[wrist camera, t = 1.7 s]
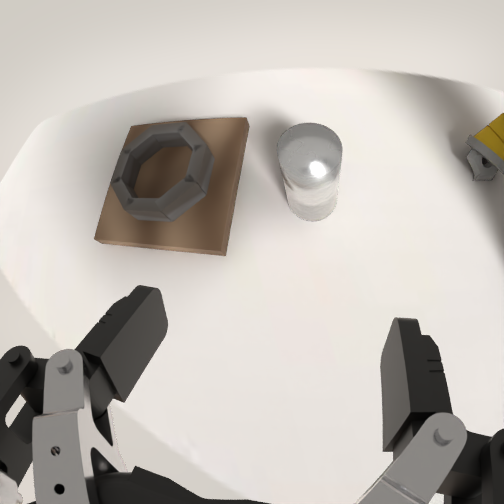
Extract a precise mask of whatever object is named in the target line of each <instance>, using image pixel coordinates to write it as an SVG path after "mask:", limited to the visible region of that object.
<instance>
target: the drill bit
mask: <svg viewBox="0 0 504 504" xmlns="http://www.w3.org/2000/svg"><path fill="white" fill-rule="evenodd" d="M489 125H490V126H488V125H487V126H486V127H485V128H484V129H482V130H481V131H480V132H479V133H477V134H476V135H475V136H474V137H473V136H471V135H470V136H469V137H468V139H467V141H466V143H467V144H468V145H469V146H470V147H472V149H471V151H470V152H469V154H468V156H467V159H468V161H469V164H470V166H471V168H472V170H473V172H474V178H473V181H477V180H492V179H493V177H494V176H495V174H496V173H497V171H498V170H499V171H501V172H502V173H503V174H504V113H502V114H501V115H500V116H499V117H497V118H496V119H495V120H494V121H492V122H491V123H490V124H489ZM483 157H484V158H485V159H486V160H487V161H488V163H487V164H485V165H483V164H482V158H483Z"/></svg>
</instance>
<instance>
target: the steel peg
mask: <svg viewBox="0 0 504 504" xmlns="http://www.w3.org/2000/svg"><path fill="white" fill-rule="evenodd" d="M277 154H278V158H279V163H280V167H281V171H282V176H283V180H284V185H285V190H286V194H287V199H288V203H289V207H290V209H291V210H292V212H293V213H294V214H295V215H296V216H297V217H299V218H301V219H303V220H306V221H319V220H322V219H324V218H326V217H328V216H329V215H330V214H331V213H332V212H333V210H334V209H335V207H336V203H337V195H338V187H339V178H340V169H341V159H342V144H341V141H340V139H339V137H338V136H337V135H336V133H335V132H334V131H332V130H331V129H330V128H328V127H326V126H324V125H321V124H317V123H302V124H298V125H295V126H293V127H291V128H289V129H288V130H287V131H285V132H284V133H283V135H282V136H281V137H280V139H279V141H278V145H277Z"/></svg>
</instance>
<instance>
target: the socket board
mask: <svg viewBox="0 0 504 504" xmlns="http://www.w3.org/2000/svg"><path fill="white" fill-rule="evenodd" d="M248 131H249V124H248V121H247V118H217V119H199V120H185V121H173V122H163V123H153V124H145V125H137V126H131V128H130V130H129V133H128V135H127V138H126V141H125V143H124V146H123V149H122V151H121V153H120V156H119V159H118V162H117V165H116V167H115V170H114V173H113V176H112V179H111V182H110V186H109V189H108V192H107V195H106V198H105V202H104V205H103V208H102V212H101V215H100V219H99V222H98V226H97V230H96V233H95V237H94V239H95V240H96V241H98V242H100V243H102V244H112V245H122V246H131V247H141V248H151V249H161V250H171V251H180V252H190V253H201V254H211V255H221V256H226V251H227V245H228V240H229V234H230V228H231V223H232V217H233V211H234V206H235V200H236V195H237V189H238V184H239V178H240V173H241V168H242V162H243V157H244V152H245V147H246V141H247V136H248Z"/></svg>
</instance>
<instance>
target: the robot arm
mask: <svg viewBox="0 0 504 504" xmlns="http://www.w3.org/2000/svg"><path fill="white" fill-rule="evenodd" d="M167 328H168V320H167V316H166V312H165V308H164V304H163V299H162V295H161V292H160V290H159V289H158V288H153V287H147V286H142V285H139V286H137V287H136V288H135V289H134V290H133V291H132V292H131V293H130V295H129V296H128V297H126V296H125V297H124V298H122V299H120V300H119V301H117V302H116V303H114V304H113V305H112V306H111V307H110V308H109V310H108V311H107V312H106V314H105V315H103V317H102V318H101V319H100V320H99V323H98V322H97V324H96V325H95V326H94V327H93V328H92V329H91V331H90V332H89V333H88V334H87V335H86V337H85V338H84V339H83V340H82V341H81V343H80V344H79V345H78V346H77V347H76V349H75V350H72V349H65V350H61V351H59V352H57V353H55V354H54V355H53V356H52V357H51V358H50V359H42V358H34V357H33V355H32V353H31V352H30V350H29V349H28V348H27V347H25V346H16V347H13V348H12V349H10V350H9V351H7V352H6V353H5V354H4V356H3V357H2V358H1V359H0V504H22V502H23V497H22V495H21V494H20V493H18V487H19V485H20V483H21V481H22V479H23V477H24V475H25V474H26V472H27V470H28V468H29V466H30V464H31V463H32V461H33V473H34V487H35V496H36V501H34V502H31V503H29V504H269V503H263V502H258V501H252V500H217V499H204V498H201V497H199V496H197V495H196V494H194V493H192V492H190V491H189V490H186V489H185V488H184V487H182V486H180V485H179V484H177V483H175V482H174V481H172V480H171V479H169V478H166V477H163V476H160V475H158V474H155V473H152V472H150V471H147V470H145V469H142V468H140V467H137V466H135V467H134V469H133V471H132V473H131V472H128V470H127V468H126V465H125V463H124V461H123V459H122V457H121V455H120V452H119V449H118V444H117V439H116V434H115V428H114V422H113V416H112V411H111V406H110V402H111V401H112V399H116V400H119V401H121V402H125V401H126V399H127V397H128V396H129V394H130V392H131V391H132V389H133V388H134V386H135V384H136V383H137V381H138V379H139V378H140V376H141V374H142V373H143V371H144V370H145V368H146V366H147V365H148V363H149V361H150V360H151V358H152V357H153V355H154V353H155V352H156V350H157V349H158V347H159V345H160V344H161V342H162V341H163V339H164V337H165V335H166V333H167ZM380 368H381V385H382V411H383V452H393V462H392V463H391V464H390V465H389V466H388V468H387V469H386V470H385V471H384V472H383V473H382V474H381V476H380V477H379V478H378V479H377V480H376V481H375V482H374V483H373V484H372V486H371V487H370V488H369V489H368V490H367V491H366V492H365V493H364V494H363V495H362V496H361V497H360V498H359V499H358V500H357V501H356V502H355V503H354V504H428V503H429V502H430V500H431V498H432V497H433V496H434V494H435V493H439V494H444V504H504V429H501V430H499V431H498V432H497V433H496V434H495V435H494V436H493V437H489V436H485V435H481V434H476V433H472V432H469V431H467V430H466V428H465V426H464V424H463V422H462V421H461V420H460V419H459V418H458V417H456V416H455V415H453V412H452V407H451V402H450V397H449V392H448V387H447V382H446V378H445V373H443V371H444V369H443V365H442V362H441V356H440V353H439V349H438V346H437V345H436V343H435V342H434V341H433V339H432V338H431V337H430V335H421V331H420V327H419V323H418V320H417V319H411V318H394V320H393V322H392V325H391V328H390V331H389V334H388V337H387V340H386V343H385V346H384V348H383V352H382V356H381V366H380ZM20 394H21V396H22V397H23V398H24V399H25V401H26V403H25V404H24V406H23V408H22V409H21V410H20V412H19V414H18V415H17V417H16V418H15V420H14V421H13V423H12V424H11V426H10V427H9V428H8V427H7V425H6V422H5V417H6V414H7V412H8V411H9V410H10V408H11V406H12V405H13V404H14V402H15V401H16V399H17V398H18V396H19V395H20Z"/></svg>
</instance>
